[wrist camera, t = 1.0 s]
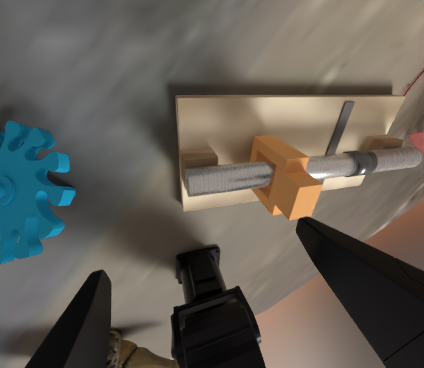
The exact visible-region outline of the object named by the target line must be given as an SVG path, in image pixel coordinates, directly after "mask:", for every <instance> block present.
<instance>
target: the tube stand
mask: <svg viewBox="0 0 424 368" xmlns="http://www.w3.org/2000/svg"><path fill="white" fill-rule="evenodd" d="M405 97H406V96H399V95H175V99H176V117H177V134H178V151H179V168H180V185H181V202H182V208H183V212H186V211H193V210H199V209H206V208H213V207H219V206H226V205H232V204H239V203H245V202H252V201H258V200H259V198H258V197H257V196H256V195H255V193H254V192H253V191H252V190H251V189H253V188H261V187H268V186H272V183H273V179H274V175H275V171H276V165H275V164H274V163H273V162H272V161H270V160H267V161H257V162H250V159H251V152H252V146H253V139H254V136H262V135H273V136H275V137H277V138H278V139H280V140H282V141H283V142H285V143H287V144H288V145H290V146H292V147H293V148H295V149H297V150H298V151H300V152H302V153H303V154H305V155H307V156H308V157H309V161H308V164H307V167H306V170H305V171H306V172H307V173H308V174H310V175H311V176H313V177H314V178H315V179H317V180H318V181H320V182H321V183H323V187H322V189H321V191H324V190H331V189H337V188H344V187H350V186H357V185H360V184H361V182H362V180H363V178H364V177H365V175H368V174H371V173H372V172H380V171H387V170H395V169H402V168H410V167H414V166H417V165H418V164H419V163H420V162H421V161H422V157H423V156H422V152H421V151H420V150H419V149H418V148H416V147H402V146H403V144H404V143H405V141H403V140H400V139H397V138H394V137H391V136H388V135H386V134H387V132H388V130H389V128H390V126H391V124H392V122H393V120H394V118H395V116H396V114H397V112H398V110H399V109H400V107H401V105H402V103H403V101H404V99H405Z"/></svg>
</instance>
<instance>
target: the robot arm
mask: <svg viewBox="0 0 424 368" xmlns="http://www.w3.org/2000/svg"><path fill="white" fill-rule="evenodd" d="M296 233H297V235H298V237H299V239H300V241H301V242H302V244H303V246H304V248H305V249H306V251H307V253H308V255H309V257H310V258H311V260H312V262H313V263H314V265H315V266H316V268H317V269H318V270H319V272H320V273H321V275H322V276H323V278H324V279H325V280H326V282H327V283H328V285H329V286H330V288H331V289H332V291H333V292H334V293H335V295H336V296H337V298H338V299H339V300H340V302H341V303H342V305H343V306H344V308H345V309H346V311H347V312H348V313H349V315H350V316H351V318H352V319H353V320H354V322H355V323H356V325H357V326H358V328H359V329H360V331H361V332H362V334H363V335H364V336H365V338H366V339H367V341H368V342H369V344H370V345H371V346H372V348H373V349H374V351H375V352H376V354H377V355H378V357H379V358H380V359H381V361H383V364H384V365H385V367H386V368H424V271H423V270H421V269H418V268H416V267H414V266H412V265H410V264H408V263H405V262H404V261H401V260H399V259H397V258H394V257H393V256H391V255H389V254H387V253H384V252H382V251H380V250H378V249H376V248H374V247H372V246H370V245H367V244H365V243H363V242H361V241H359V240H357V239H355V238H353V237H351V236H349V235H346V234H344V233H342V232H340V231H338V230H336V229H334V228H332V227H330V226H327V225H325V224H323V223H321V222H319V221H317V220H315V219H313V218H311V217H308V216H305V217H301V218H299V220H298V223H297V227H296ZM219 260H220V248H219V247H214V248H209V249H204V250H199V251H195V252H190V253H185V254H180V255H177V256H176V263H177V273H178V283H179V284H182V285H183V292H184V298H185V304H184V305H181V306H176V307H174V313H173V314H172V315H171V324H172V347H171V354H172V358H173V359H175V360H176V361H177V363H178V366H179V368H266V367H265V363H264V360H263V357H262V354H261V351H260V347H259V343H261V335H260V332H259V328H258V325H257V322H256V319H255V317H254V314H253V312H252V310H251V308H250V306H249V304H248V302H247V300H246V299H245V297H244V295H243V293H242V291H241V289H240V287H239V286H236V287H235V288H232V289H229V290H227V289H226V286H225V283H224V280H223V277H222V275H221V272H220V269H219ZM110 328H111V281H110V279H109V277H108V276H107V274H106V272H105V271H104V270H98V271H94V272H92V273H91V274H90V275H89V277H88V278H87V280H86V281H85V282H84V284H83V285H82V287H81V288H80V290H79V291H78V292H77V294H76V295H75V297H74V298H73V300H72V301H71V302H70V304H69V305H68V307H67V308H66V309H65V311H64V312H63V314H62V315H61V317H60V318H59V319H58V321H57V322H56V324H55V325H54V327H53V328H52V329H51V331H50V332H49V334H48V335H47V336H46V338H45V339H44V341H43V342H42V344H41V345H40V346H39V348H38V349H37V351H36V352H35V354H34V355H33V356H32V358H31V359H30V361H29V362H28V363H27V365H26V366H25V368H106V361H107V353H108V345H109V337H110Z"/></svg>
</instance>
